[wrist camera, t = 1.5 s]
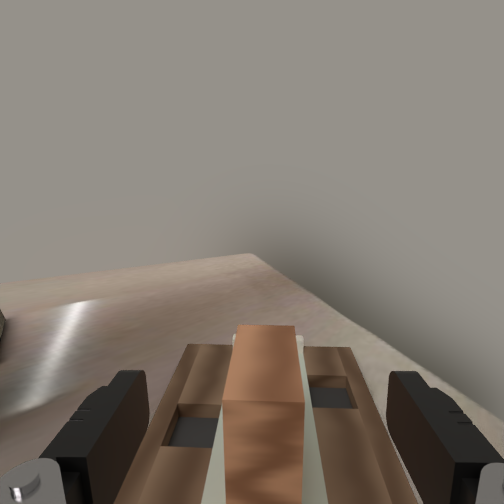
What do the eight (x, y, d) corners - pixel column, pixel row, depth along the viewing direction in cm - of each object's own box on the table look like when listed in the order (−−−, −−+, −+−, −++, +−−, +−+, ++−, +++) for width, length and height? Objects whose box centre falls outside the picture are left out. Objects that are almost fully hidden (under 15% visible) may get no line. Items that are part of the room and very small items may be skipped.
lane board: (94, 570, 24) (87, 526, 23) (188, 355, 51) (187, 331, 50) (442, 591, 23) (450, 546, 22) (349, 359, 50) (351, 334, 49)
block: (227, 548, 23) (222, 399, 20) (240, 436, 33) (238, 324, 30) (299, 552, 23) (304, 402, 20) (291, 438, 33) (294, 325, 30)
